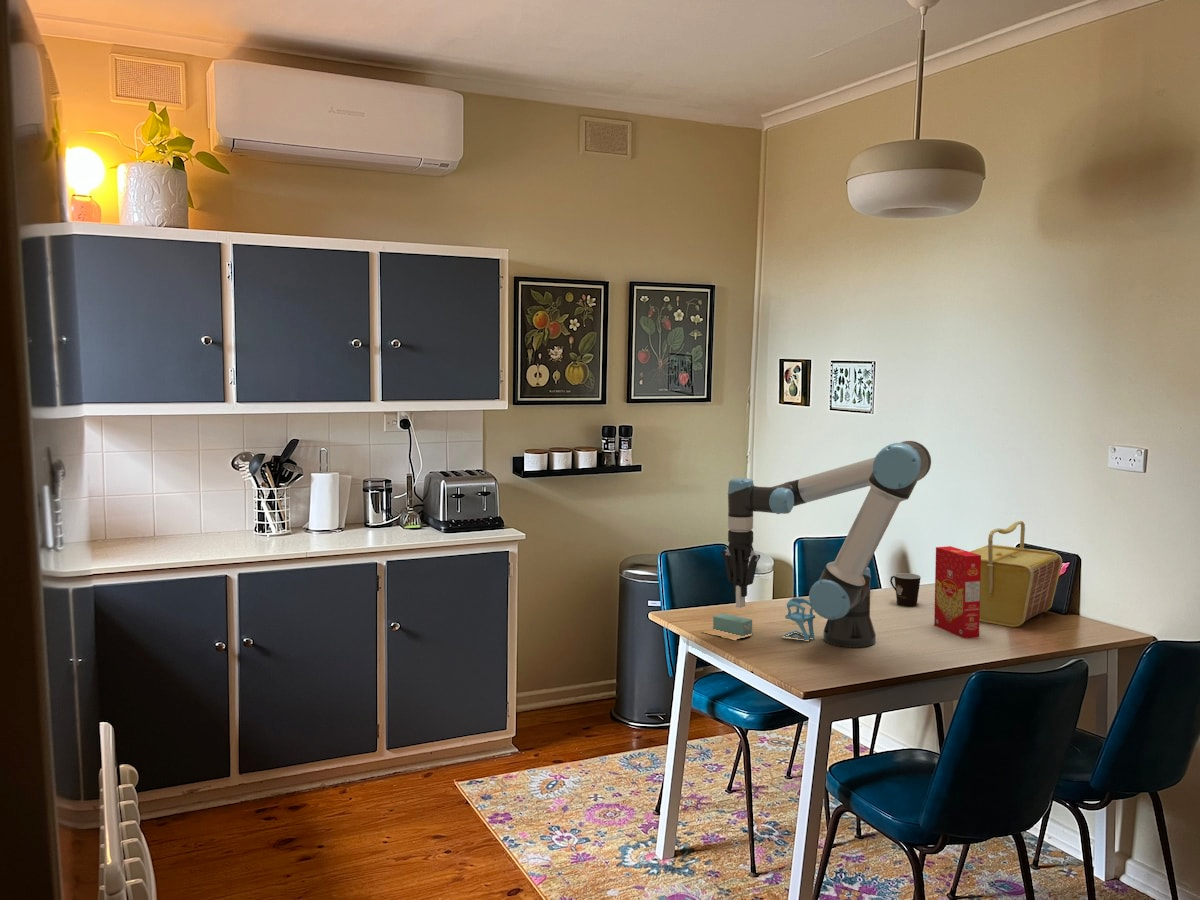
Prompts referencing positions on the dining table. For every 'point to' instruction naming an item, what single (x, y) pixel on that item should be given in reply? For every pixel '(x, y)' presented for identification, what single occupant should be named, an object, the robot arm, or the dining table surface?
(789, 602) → the chair
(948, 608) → the food packaging
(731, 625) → the teal block
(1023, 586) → the picnic basket
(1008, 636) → the dining table surface
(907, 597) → the coffee mug
